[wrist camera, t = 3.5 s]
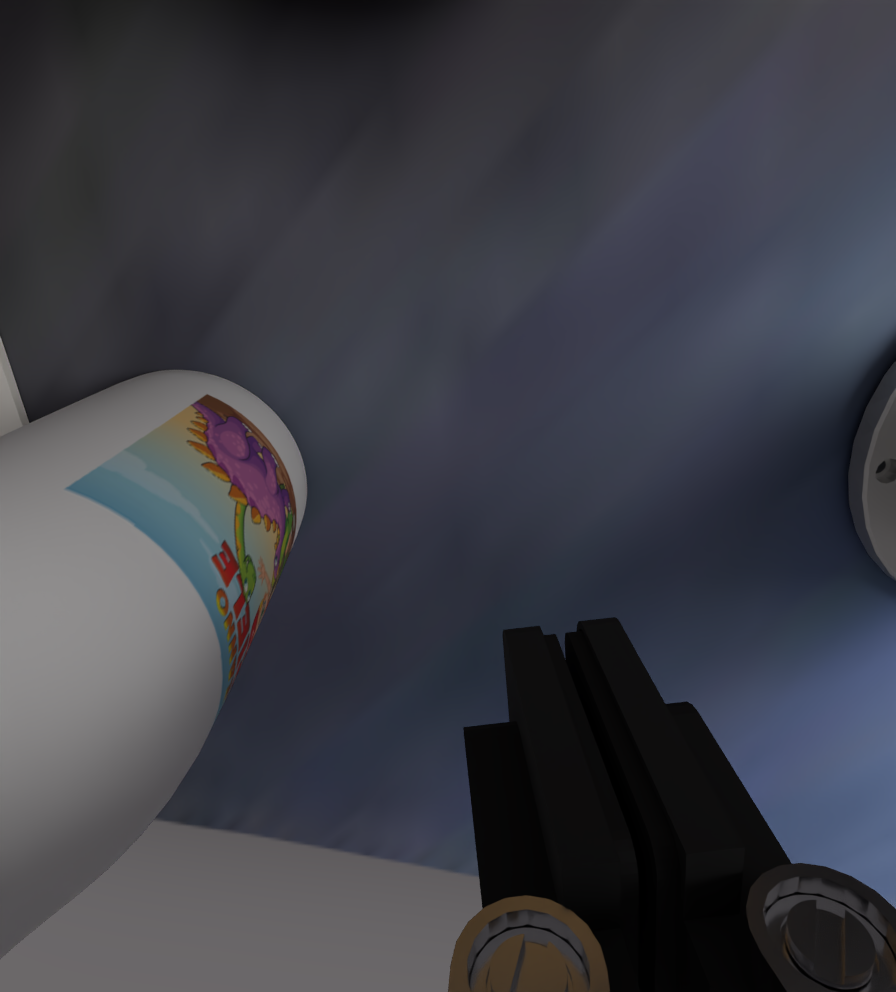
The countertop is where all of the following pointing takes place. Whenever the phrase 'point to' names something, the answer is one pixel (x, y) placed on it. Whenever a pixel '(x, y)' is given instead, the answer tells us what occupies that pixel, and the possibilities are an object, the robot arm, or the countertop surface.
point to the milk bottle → (125, 612)
